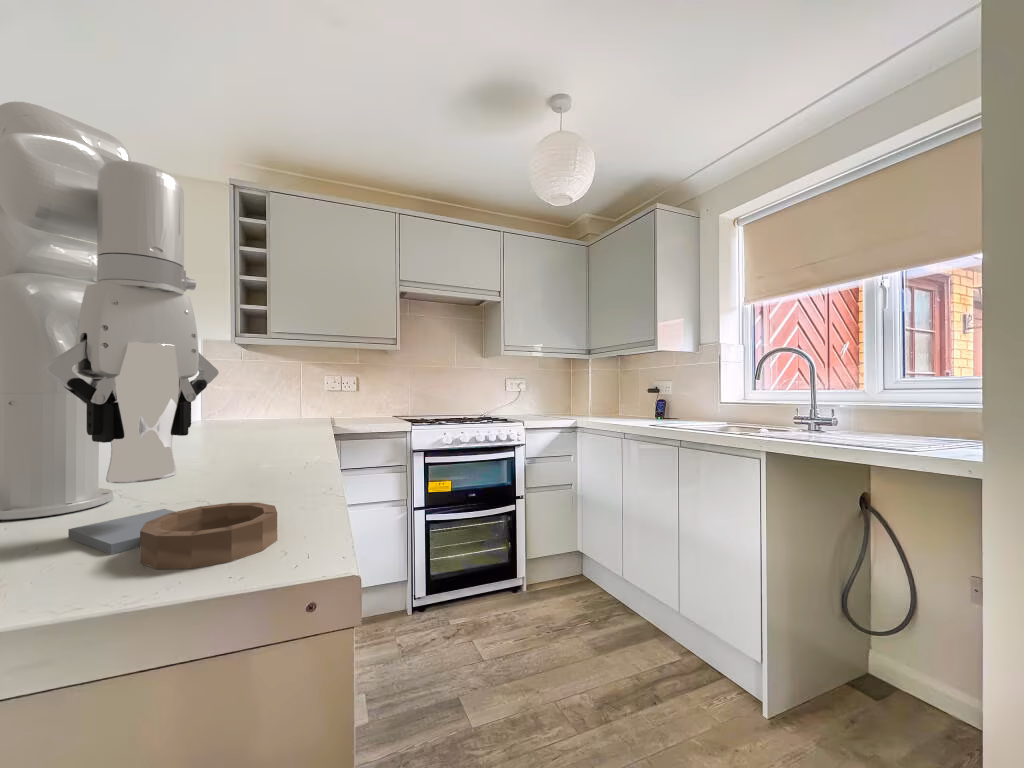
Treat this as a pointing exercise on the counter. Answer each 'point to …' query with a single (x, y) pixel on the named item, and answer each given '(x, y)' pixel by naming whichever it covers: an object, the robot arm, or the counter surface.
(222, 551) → the ring
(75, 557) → the counter surface
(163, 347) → the beer glass
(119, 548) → the slate mat
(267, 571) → the counter surface
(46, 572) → the counter surface
